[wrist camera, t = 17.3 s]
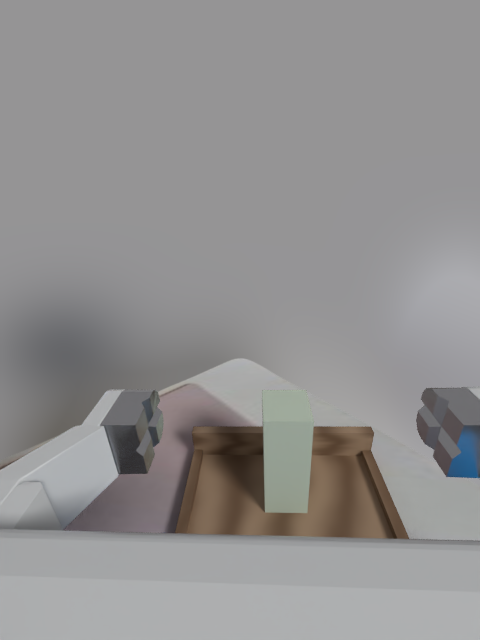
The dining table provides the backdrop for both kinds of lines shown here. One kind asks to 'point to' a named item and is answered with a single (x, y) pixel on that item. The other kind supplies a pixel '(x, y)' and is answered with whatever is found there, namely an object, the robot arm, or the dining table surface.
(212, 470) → the tray
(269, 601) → the robot arm
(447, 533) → the dining table surface
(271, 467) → the sage block
